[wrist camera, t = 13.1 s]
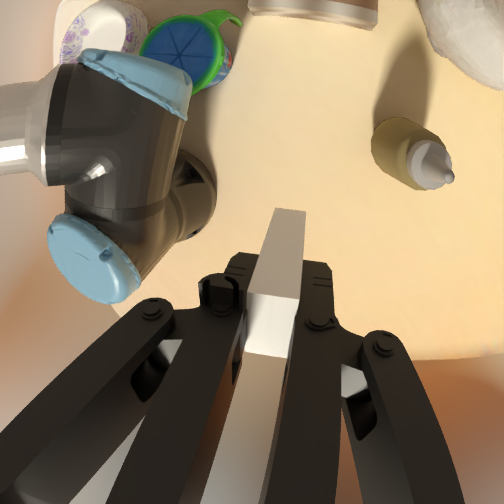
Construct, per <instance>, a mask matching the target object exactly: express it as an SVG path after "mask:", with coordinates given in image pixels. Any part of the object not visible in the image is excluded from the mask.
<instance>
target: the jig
mask: <svg viewBox="0 0 504 504" xmlns="http://www.w3.org/2000/svg"><path fill="white" fill-rule="evenodd" d="M247 7H248V8H249V9H250V11H251V12H252V13H253V15H255V16H280V17H293V18H303V19H311V20H318V21H325V22H331V23H336V24H342V25H347V26H351V27H356V28H360V29H364V30H368V31H372V29H373V28H374V27H375V26H376V25H377V20H378V0H248V6H247Z"/></svg>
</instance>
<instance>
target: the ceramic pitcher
mask: <svg viewBox="0 0 504 504" xmlns="http://www.w3.org/2000/svg"><path fill="white" fill-rule="evenodd" d="M418 4H419V8H420V12H421V15H422V19H423V21H424V24H425V26H426V27H427V36H428V39H429V41H430V43H431V44H432V46H433V49H434V51H435V52H436V53H438V54H439V55H440V56H442V57H445V58H448V59H449V60H450V61H451V62H452V63H453V64H454V65H455V66H457V67H458V68H459V69H460V70H461V71H462V72H463V73H465V74H466V75H468V76H469V77H471V78H472V79H474V80H475V81H477V82H478V83H480V84H482V85H484V86H487V87H489V88H492V89H494V90H499V91H504V0H418Z"/></svg>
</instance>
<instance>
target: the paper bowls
mask: <svg viewBox="0 0 504 504" xmlns="http://www.w3.org/2000/svg"><path fill="white" fill-rule="evenodd" d="M148 31H149V29H148V22H147V19H146V17H145V14H144V13H143V12H142V11H141V10H140V9H138V8H137V7H135V6H133V5H130V4H128V3H125V2H121V1H118V0H103V1H100V2H97V3H95V4H93V5H91V6H89V7H88V8H86V9H85V10H84V11H83V12H81V13H80V14H79V15H78V16H77V18H76V19H75V20H74V21H73V23H72V24H71V25H70V27H69V29H68V30H67V32H66V34H65V37H64V39H63V42H62V46H61V51H60V64H67V63H78V62H79V61H77V58H78V56H79V55H80V54H81V52H82V51H83V50H84V49H86V48H97V49H101V50H109V51H119V52H124V53H129V54H134V55H139V51H140V48H141V45H142V43H143V41H144V39H145V38H146V36H147V35H148V34H149V33H148Z"/></svg>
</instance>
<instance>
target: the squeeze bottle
mask: <svg viewBox="0 0 504 504" xmlns="http://www.w3.org/2000/svg"><path fill="white" fill-rule="evenodd" d="M371 152H372V155H373V157H374V160H375V163H376V164H377V165H378V166H379V167H380V168H381V170H382V171H383V172H385V173H387V174H388V175H390V176H392V177H394V178H395V179H397V180H399V181H400V182H402V183H404V184H405V185H407V186H409V187H411V188H413V189H415V190H428V189H431V190H435V189H437V188H440V187H442V186H443V185H444V184H445V183H447V184H450V183H452V182H453V181H454V177H455V176H454V173H453V171H452V170H451V169H452V162H451V158H450V155H449V153H448V152H447V150H446V147H445V145H444V144H443V142H442V141H441V140H440V138H439V137H438V136H437V135H435V134H433V133H432V132H430V131H429V130H427V129H425V128H423V127H421V126H419V125H418V124H416V123H414V122H412V121H410V120H408V119H406V118H398V117H393V118H390V119H387V120H384V121H383V122H382V123H381V124H380V125H379V126H378V127H377V128H376V129H375V131H374V134H373V136H372V139H371Z"/></svg>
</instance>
